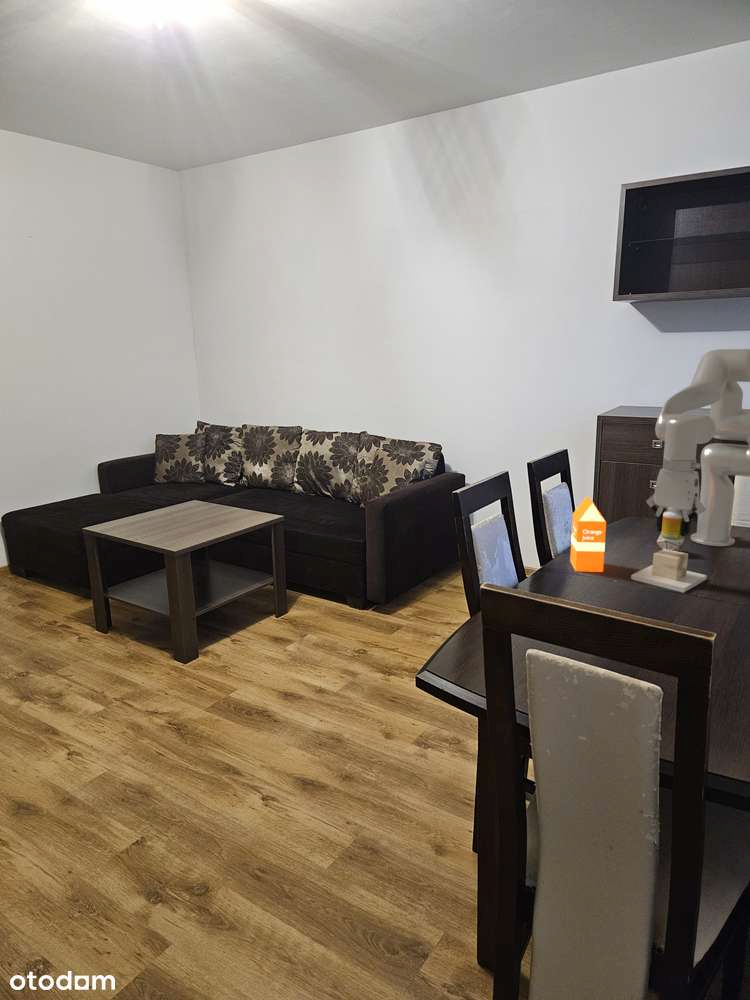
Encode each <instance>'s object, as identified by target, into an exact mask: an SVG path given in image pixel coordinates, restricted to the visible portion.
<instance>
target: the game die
mask: <svg viewBox="0 0 750 1000" xmlns="http://www.w3.org/2000/svg"><path fill="white" fill-rule="evenodd" d="M688 539H689V537H685V536H684V537H683V541H681V542H669V541H665V540H663V539H662V538H661V532H659V533H658V537H657V540H655V542H654V541H653V544H654V545H655V544H656V545H657V546H658V547H660V548H661V550H663V549H668V550H672V551H677V552H680V549H683V546H682V545H683V544H684V542H685V540H688Z"/></svg>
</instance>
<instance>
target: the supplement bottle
mask: <svg viewBox="0 0 750 1000" xmlns="http://www.w3.org/2000/svg"><path fill="white" fill-rule="evenodd" d="M682 521H684V517H683V513H682V510H678V509H675V508H673V507H672V506H671V507H668V508H667V509H666V511H665V512H664V513H663V521H662V531H660V533H661V538H662V539H663V540H665V541H669V542H681V541H683V537H684V538H685V536H681V524H682Z"/></svg>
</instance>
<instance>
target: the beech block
mask: <svg viewBox="0 0 750 1000" xmlns="http://www.w3.org/2000/svg"><path fill="white" fill-rule="evenodd" d="M652 556H653V557H652V558H653V559H652V565H653V566H652V575H654V576H658V577H662V578H666V579H670V580H674V581H676V580H678V579H680V578H682V577H684V576H685V575H686V571H688V570H687V568H688V558H689V553H686V552H681V551H679V552H677V551H672V550H668V549H663V550H662V549H661V550H658V551H657V552H654V553H653V555H652Z"/></svg>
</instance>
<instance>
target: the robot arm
mask: <svg viewBox="0 0 750 1000" xmlns="http://www.w3.org/2000/svg"><path fill="white" fill-rule="evenodd" d="M738 382H739V383H741V382H743V383H750V349H749V348H736V349H735V348H733V349H732V348H728V349H724V348H723V349H722V348H719V349H713V350H710V351H708V352H706V353H704V354H703V356H702V357H701V359H700V361H699V364H698V366H697V368H696V371H695V373H694V375H693V378H692V381H691V382H690V385H689V386H686V387H684V388H683V389H681V390H679V391H678V392H676V393H675V394H673V395H672V396H670V397H669V398H668V399H667V400H666V401H665V402H664V403H663V406H662V408H661V410H660V412H659V414H658V417H657V419H656V422H655V428H654V430H655V435H656V438H658V440H660V441H663V442H664V448H663V461H662V462H663V463H662V468H661V469H659V472H658V476H657V478H656V483H655V489H654V493H653V494H652V495H651V496H650V497H649V498H648V499H647V500H646V501H645V503H646V504H647V505H648V506H649V507H650V508H651V510H652V512H653V513H654V514H655V517H656V528H657V532H659V533H661V532H662V521H663V513H664V512H665V511H667V508H668V507H671V506H672V507H673V508H675V509H678V510H682V513H683V517H684V521H682V524H681V536H684V537H685V536H688V534H689V533H690V532H691V526H692V521H693V520H694V519H695V518H697V523H696V524H697V525H696V532H694V533H691V534H690V540H691V542H695V543H697V544H701V545H704V546H710V547H711V546H712V547H730V546H733V545H734V544H735V542H736V540H735V538H733V537H731V530H732V517H733V512H734V511H733V509H734V500H735V499H734V498H735V492H736V488H735V486H734V483H733V482H732V480H731V478H730V477H729V476H738V477H748V478H750V408H749V409H745V408H743V399H744V397H743V396H744V391H743V389H742V387H741V385H740V384H739V383H738ZM708 406H709V407H710V409H709V416H708V415H703V414H690V413H688V414H687V412H689V411H693V410H698V409H701V408H703V407H708ZM712 439H718V440H727V441H739V442H741V441H742V442H746V443H748V444H735V443H724V442H723V443H719V442H718V443H717V442H715V443H709V444H707V445H706V446H704V447H703V449H702V450H701V453H700V462H697V459H696V458H697V449H698V447H697V446H698V445H702V444H706V443H708V442H710V441H711V440H712ZM696 469H701V482H700V479H699V478H700V477H699V472H698V471H695V470H696ZM700 483H701V485H700ZM692 509H696V510H695V511H692Z"/></svg>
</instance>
